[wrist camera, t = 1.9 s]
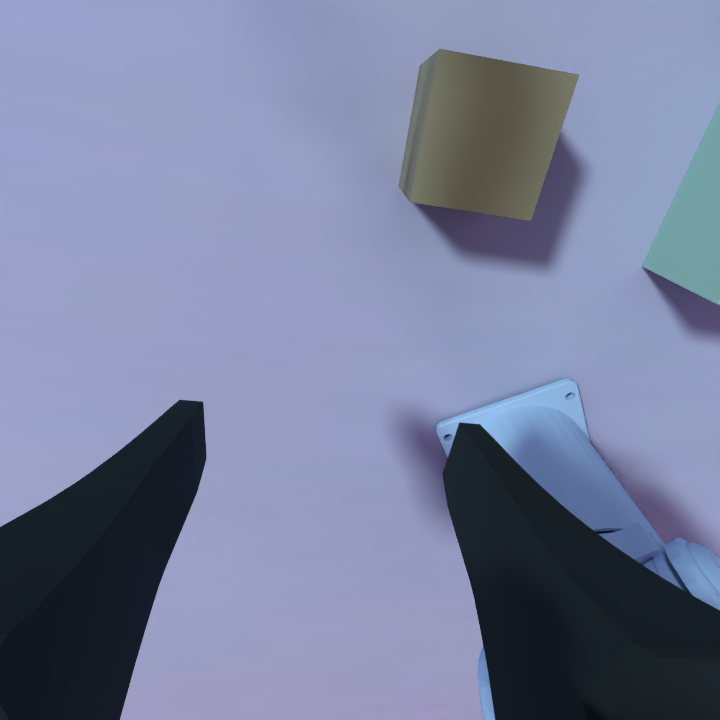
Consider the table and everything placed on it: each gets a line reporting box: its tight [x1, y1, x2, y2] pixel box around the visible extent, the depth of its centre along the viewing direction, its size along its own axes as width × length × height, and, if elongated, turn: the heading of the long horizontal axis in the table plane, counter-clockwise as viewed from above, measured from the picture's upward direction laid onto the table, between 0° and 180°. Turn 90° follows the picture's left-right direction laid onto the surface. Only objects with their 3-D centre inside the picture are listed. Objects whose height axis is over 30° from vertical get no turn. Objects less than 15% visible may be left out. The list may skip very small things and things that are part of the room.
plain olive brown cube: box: [399, 49, 579, 221], centre depth 16 cm, size 5×4×4 cm
